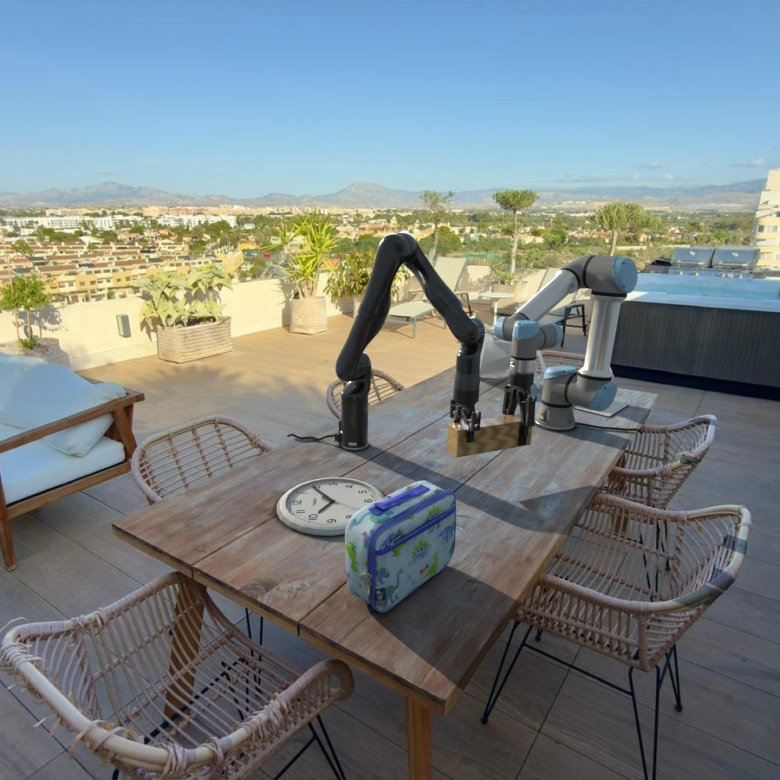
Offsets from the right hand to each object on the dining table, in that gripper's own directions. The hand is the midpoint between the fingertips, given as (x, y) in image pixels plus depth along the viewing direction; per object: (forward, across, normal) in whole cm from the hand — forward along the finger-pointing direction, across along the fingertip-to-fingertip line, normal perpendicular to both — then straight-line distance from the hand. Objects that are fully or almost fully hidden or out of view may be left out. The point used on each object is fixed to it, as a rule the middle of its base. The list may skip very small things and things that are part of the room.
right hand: (515, 440), depth 167 cm
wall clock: (+8, +4, -62) cm, 63 cm away
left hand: (-4, 0, -20) cm, 20 cm away
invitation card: (+8, -34, +70) cm, 79 cm away
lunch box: (+8, +41, -58) cm, 72 cm away
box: (+1, 0, -10) cm, 10 cm away
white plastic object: (+8, -78, +51) cm, 94 cm away
